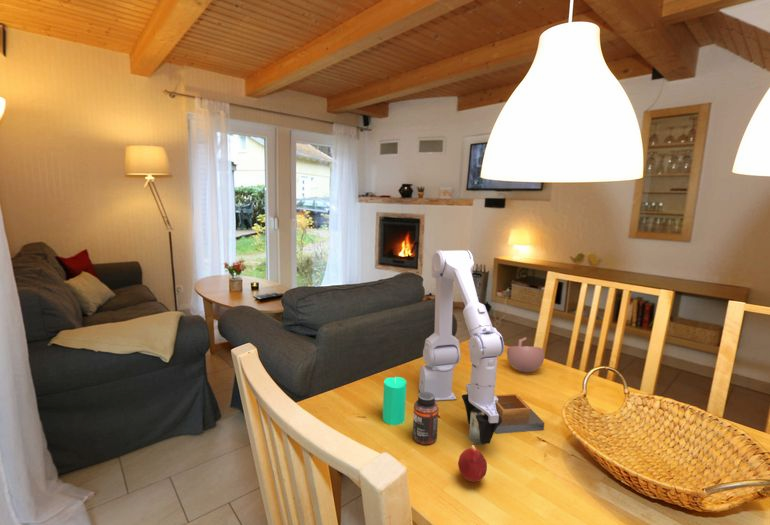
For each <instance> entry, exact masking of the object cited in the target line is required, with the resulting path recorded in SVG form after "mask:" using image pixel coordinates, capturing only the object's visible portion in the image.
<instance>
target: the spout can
mask: <svg viewBox="0 0 770 525" xmlns="http://www.w3.org/2000/svg"><path fill="white" fill-rule="evenodd" d="M477 415H484V412H482V411H481V410H479V409H478V408H475V409H472V410H471V417H470V425H469V432H468V440H469V441H470V442H471V444H473V445H477V446H484V445H485V444H481V442H480V432H479V425H478V421H477V419H476V416H477Z"/></svg>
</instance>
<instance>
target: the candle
mask: <svg viewBox="0 0 770 525" xmlns="http://www.w3.org/2000/svg"><path fill="white" fill-rule="evenodd" d="M406 400H407V380H406V379H405V378H404V377H399V376H394V377H385V379H384V381H383V400H382V402H383V403H382V421H383V422H384V423H385V424H387V425H390V426H399V425H401V424H403V423H404V422H405V421H406Z"/></svg>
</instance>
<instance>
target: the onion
mask: <svg viewBox="0 0 770 525" xmlns="http://www.w3.org/2000/svg"><path fill="white" fill-rule="evenodd" d="M458 458H459V459H458V462H457V466H458V471H459V472H460V474H461V475H462V477H464V479H465V480H467V481H469V482H472V483H473V482H474V483H475V482H479V481H482V479H483V478H484V477H485V476H486V474H487V470H488V463H487V459H486V458H485V455H483V453H482V452H481V451H480V450H479V449H477V448H476V447H475V444H471V446H470V447H469V448H467V449H465V450H463V452H462V453H460V455H459V457H458Z"/></svg>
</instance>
